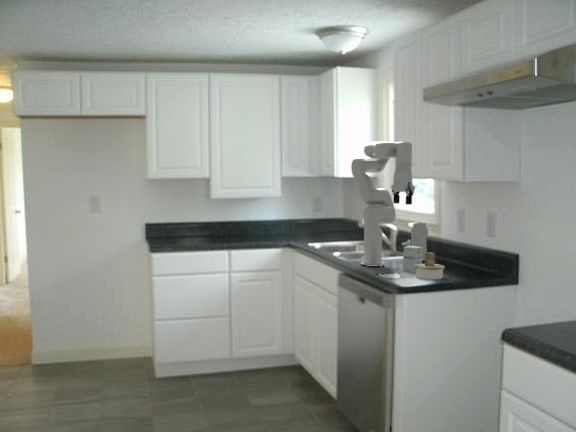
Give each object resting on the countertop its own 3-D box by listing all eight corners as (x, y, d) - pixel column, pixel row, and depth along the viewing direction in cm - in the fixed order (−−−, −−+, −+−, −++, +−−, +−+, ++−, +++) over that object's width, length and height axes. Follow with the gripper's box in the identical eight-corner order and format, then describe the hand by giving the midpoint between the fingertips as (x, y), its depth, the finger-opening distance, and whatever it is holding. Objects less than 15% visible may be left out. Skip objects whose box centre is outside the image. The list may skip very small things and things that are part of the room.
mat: (372, 275, 288) (372, 274, 288) (396, 273, 294) (396, 272, 294) (389, 280, 275) (390, 279, 275) (414, 278, 281) (414, 277, 281)
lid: (408, 266, 286) (409, 251, 285) (431, 264, 291) (432, 250, 291) (427, 270, 273) (427, 255, 273) (450, 268, 279) (451, 254, 279)
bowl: (411, 276, 285) (412, 266, 285) (431, 275, 290) (431, 264, 290) (427, 281, 275) (427, 270, 275) (447, 279, 280) (447, 268, 280)
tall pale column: (411, 262, 332) (412, 222, 331) (408, 261, 336) (409, 222, 335) (428, 261, 335) (430, 222, 334) (425, 260, 339) (426, 221, 338)
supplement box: (402, 271, 300) (402, 246, 299) (409, 270, 306) (409, 245, 305) (415, 273, 295) (416, 248, 294) (422, 271, 301) (423, 246, 300)
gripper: (386, 167, 294) (385, 203, 295) (408, 167, 278) (407, 205, 279) (398, 168, 297) (398, 202, 298) (421, 168, 281) (420, 204, 283)
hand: (402, 203), depth 289 cm, fingers open, 9 cm apart
